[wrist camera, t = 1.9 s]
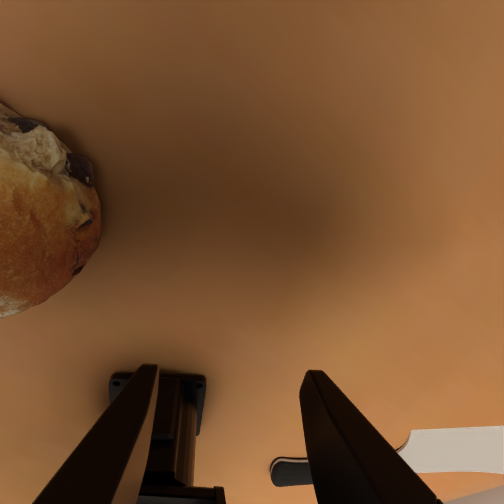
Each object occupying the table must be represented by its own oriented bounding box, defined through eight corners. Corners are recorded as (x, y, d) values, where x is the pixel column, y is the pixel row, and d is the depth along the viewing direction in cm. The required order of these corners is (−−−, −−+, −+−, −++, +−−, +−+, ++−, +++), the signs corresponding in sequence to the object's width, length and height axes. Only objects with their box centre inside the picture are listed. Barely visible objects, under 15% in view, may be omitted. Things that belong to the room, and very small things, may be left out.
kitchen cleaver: (600, 416, 30) (552, 484, 34) (580, 402, 32) (537, 468, 35) (284, 424, 26) (268, 501, 29) (279, 406, 27) (265, 482, 31)
